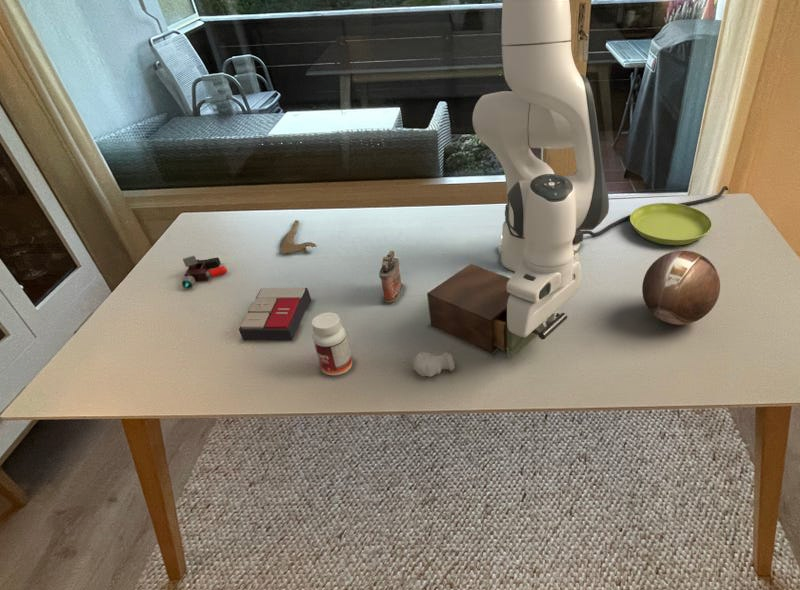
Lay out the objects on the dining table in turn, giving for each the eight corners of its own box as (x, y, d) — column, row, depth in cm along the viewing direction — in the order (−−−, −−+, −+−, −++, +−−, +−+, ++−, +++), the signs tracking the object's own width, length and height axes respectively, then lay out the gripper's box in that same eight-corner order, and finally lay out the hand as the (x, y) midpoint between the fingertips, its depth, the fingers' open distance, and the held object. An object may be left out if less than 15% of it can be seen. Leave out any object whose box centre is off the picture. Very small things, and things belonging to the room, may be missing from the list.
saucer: (618, 217, 158) (620, 206, 156) (690, 210, 159) (693, 200, 157) (643, 253, 142) (645, 242, 140) (723, 246, 143) (726, 235, 141)
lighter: (395, 305, 128) (389, 266, 122) (380, 303, 129) (374, 265, 123) (405, 286, 134) (400, 248, 128) (392, 284, 135) (386, 247, 129)
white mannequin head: (413, 381, 110) (417, 359, 113) (454, 382, 109) (457, 360, 112) (409, 370, 106) (413, 347, 109) (451, 371, 105) (454, 348, 108)
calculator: (236, 327, 118) (259, 285, 129) (243, 342, 121) (265, 300, 132) (288, 327, 117) (307, 284, 128) (293, 342, 120) (312, 300, 131)
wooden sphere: (631, 330, 118) (642, 268, 108) (643, 293, 128) (654, 232, 119) (707, 345, 113) (725, 281, 104) (713, 304, 124) (730, 243, 114)
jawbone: (285, 263, 146) (282, 256, 144) (268, 233, 160) (265, 226, 159) (318, 251, 148) (316, 244, 147) (298, 222, 163) (296, 216, 161)
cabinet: (531, 319, 122) (532, 286, 117) (491, 354, 114) (490, 320, 108) (472, 295, 130) (470, 263, 125) (430, 326, 122) (426, 293, 116)
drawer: (572, 334, 116) (574, 307, 112) (536, 368, 108) (537, 341, 104) (490, 301, 127) (489, 275, 122) (452, 330, 119) (449, 304, 115)
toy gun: (180, 292, 136) (172, 274, 133) (195, 266, 145) (188, 249, 142) (221, 288, 137) (214, 271, 133) (233, 263, 146) (227, 246, 143)
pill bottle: (315, 368, 112) (301, 321, 105) (339, 352, 116) (328, 306, 109) (334, 381, 109) (322, 334, 102) (359, 364, 113) (348, 318, 106)
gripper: (563, 241, 110) (559, 301, 118) (500, 288, 98) (501, 350, 106) (592, 250, 106) (586, 311, 115) (530, 300, 94) (529, 363, 103)
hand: (545, 330), depth 111 cm, fingers closed
